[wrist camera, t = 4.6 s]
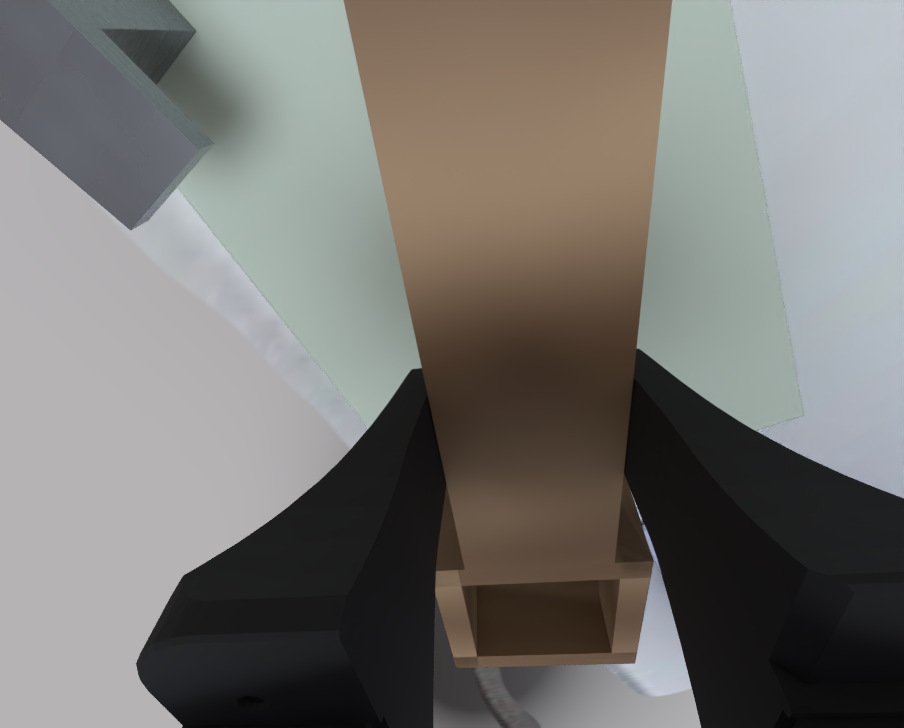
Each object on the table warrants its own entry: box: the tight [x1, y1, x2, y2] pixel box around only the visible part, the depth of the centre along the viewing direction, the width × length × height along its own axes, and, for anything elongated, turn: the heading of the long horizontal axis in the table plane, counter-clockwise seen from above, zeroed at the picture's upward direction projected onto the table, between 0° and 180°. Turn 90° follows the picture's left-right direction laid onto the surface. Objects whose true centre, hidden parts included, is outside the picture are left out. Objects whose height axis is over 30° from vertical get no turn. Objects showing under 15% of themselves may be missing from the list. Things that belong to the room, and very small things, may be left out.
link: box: [344, 0, 672, 668], centre depth 13 cm, size 20×6×4 cm, turn 8°
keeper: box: [0, 0, 214, 230], centre depth 13 cm, size 5×3×5 cm, turn 40°
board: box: [157, 0, 804, 430], centre depth 18 cm, size 27×18×1 cm, turn 28°
